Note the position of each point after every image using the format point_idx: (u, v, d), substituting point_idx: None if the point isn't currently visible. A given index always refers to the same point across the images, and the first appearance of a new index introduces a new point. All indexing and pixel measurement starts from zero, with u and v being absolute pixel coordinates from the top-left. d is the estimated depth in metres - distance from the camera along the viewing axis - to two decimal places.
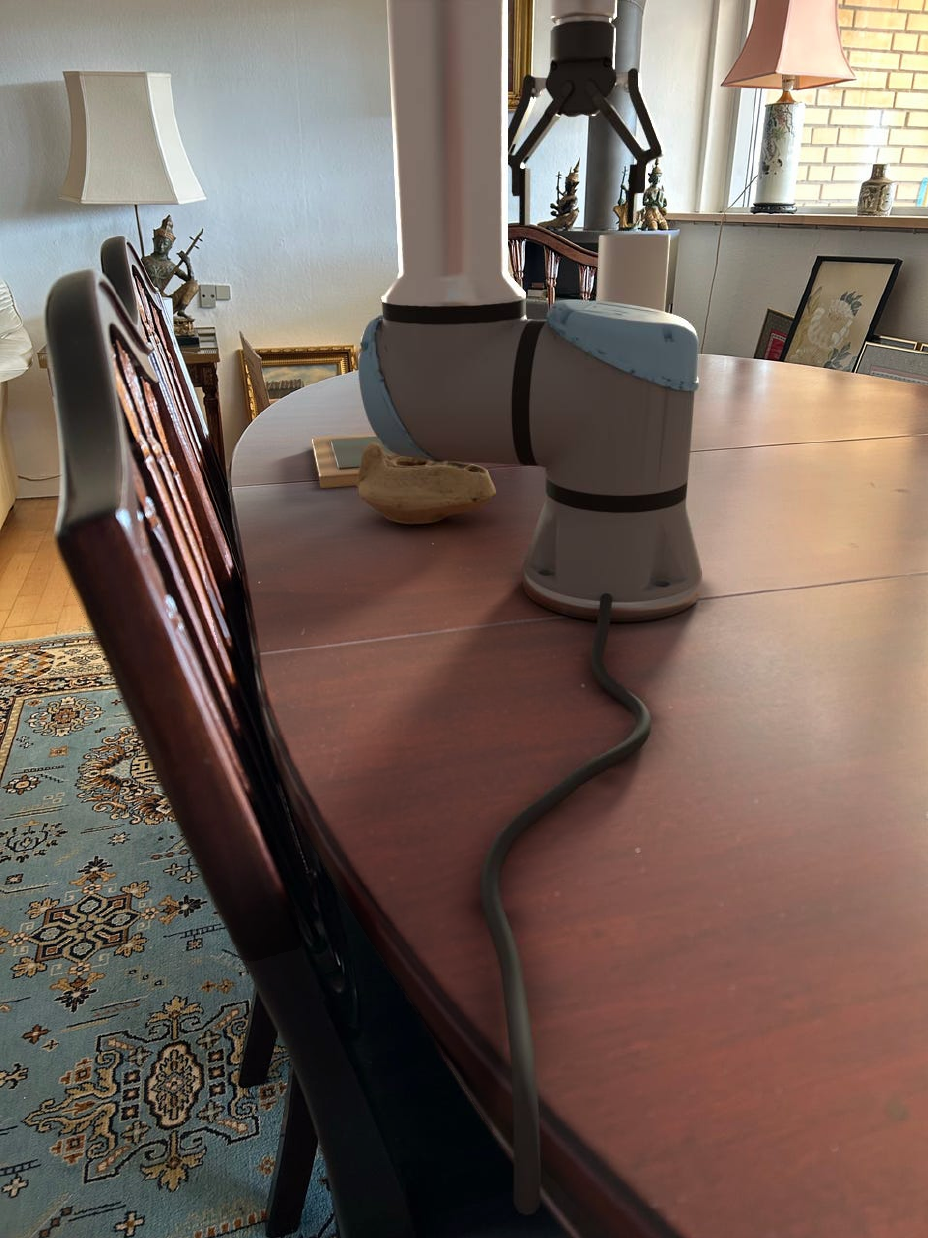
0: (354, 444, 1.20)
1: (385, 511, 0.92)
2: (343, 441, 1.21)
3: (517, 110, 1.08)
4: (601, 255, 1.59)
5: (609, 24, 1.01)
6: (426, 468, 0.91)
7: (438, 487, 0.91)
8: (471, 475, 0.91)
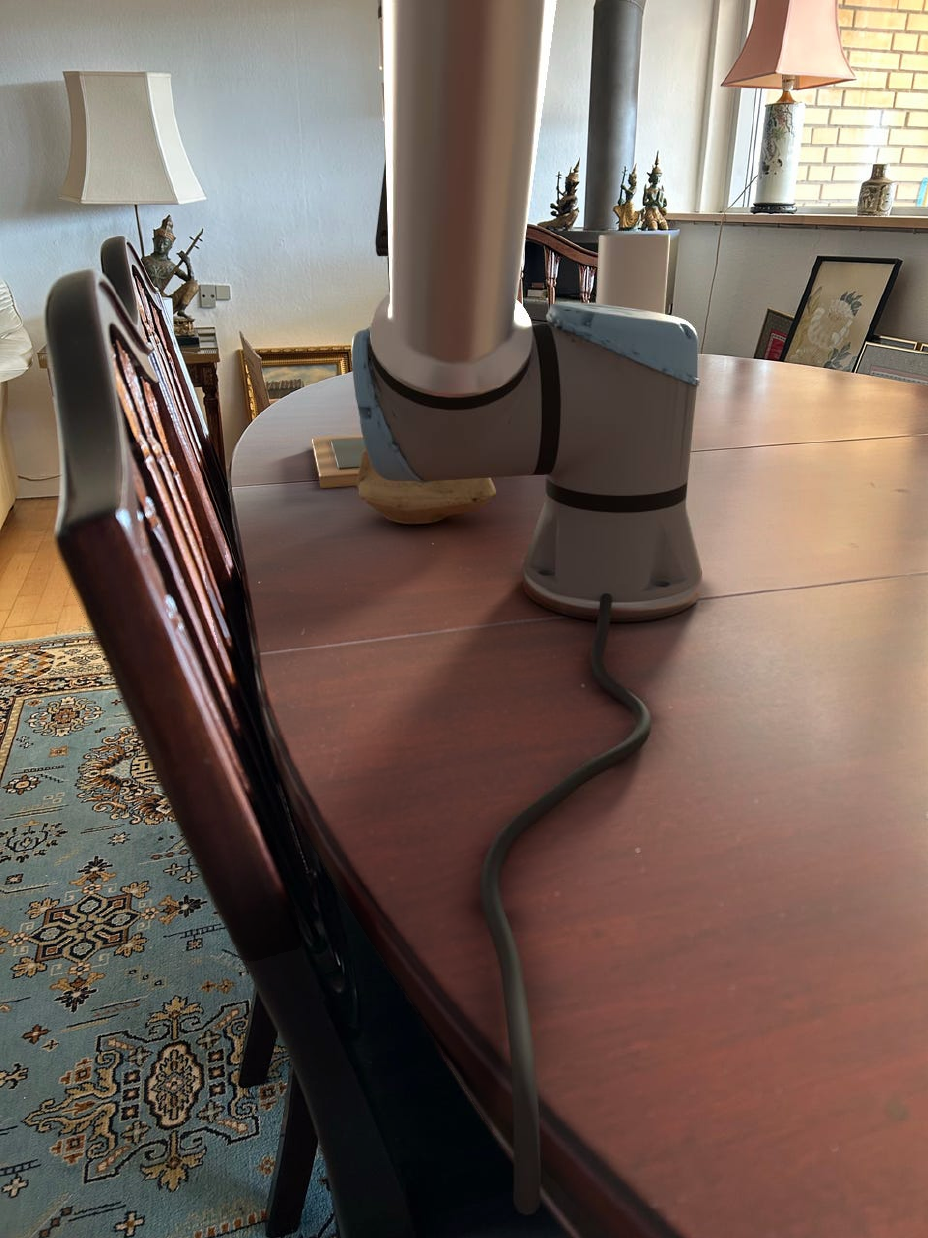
0: (354, 444, 1.20)
1: (385, 511, 0.92)
2: (343, 441, 1.21)
3: None
4: (601, 255, 1.59)
5: None
6: None
7: (438, 487, 0.91)
8: None
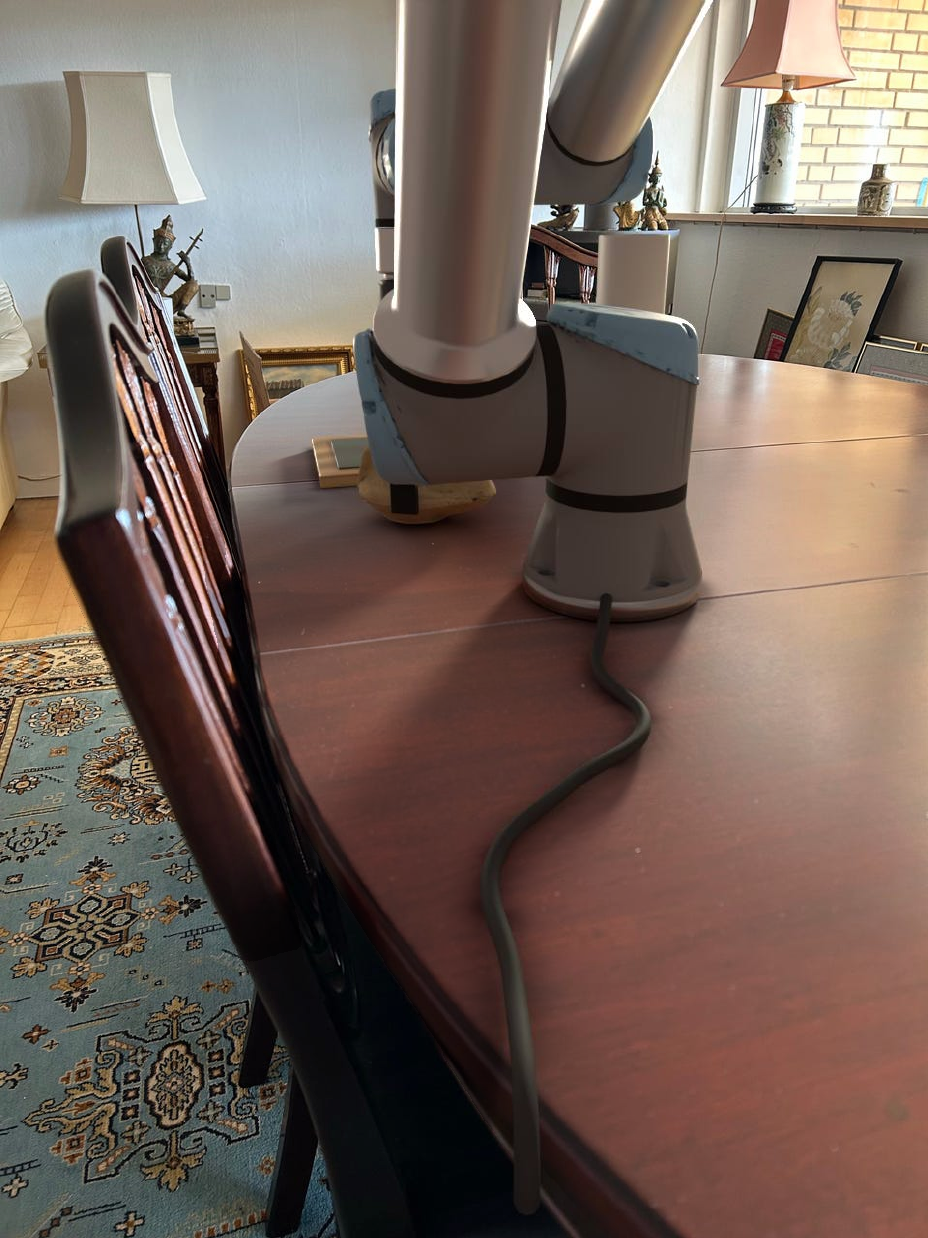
0: (354, 444, 1.20)
1: (385, 511, 0.92)
2: (343, 441, 1.21)
3: None
4: (601, 255, 1.59)
5: (391, 283, 0.83)
6: None
7: (438, 487, 0.91)
8: None
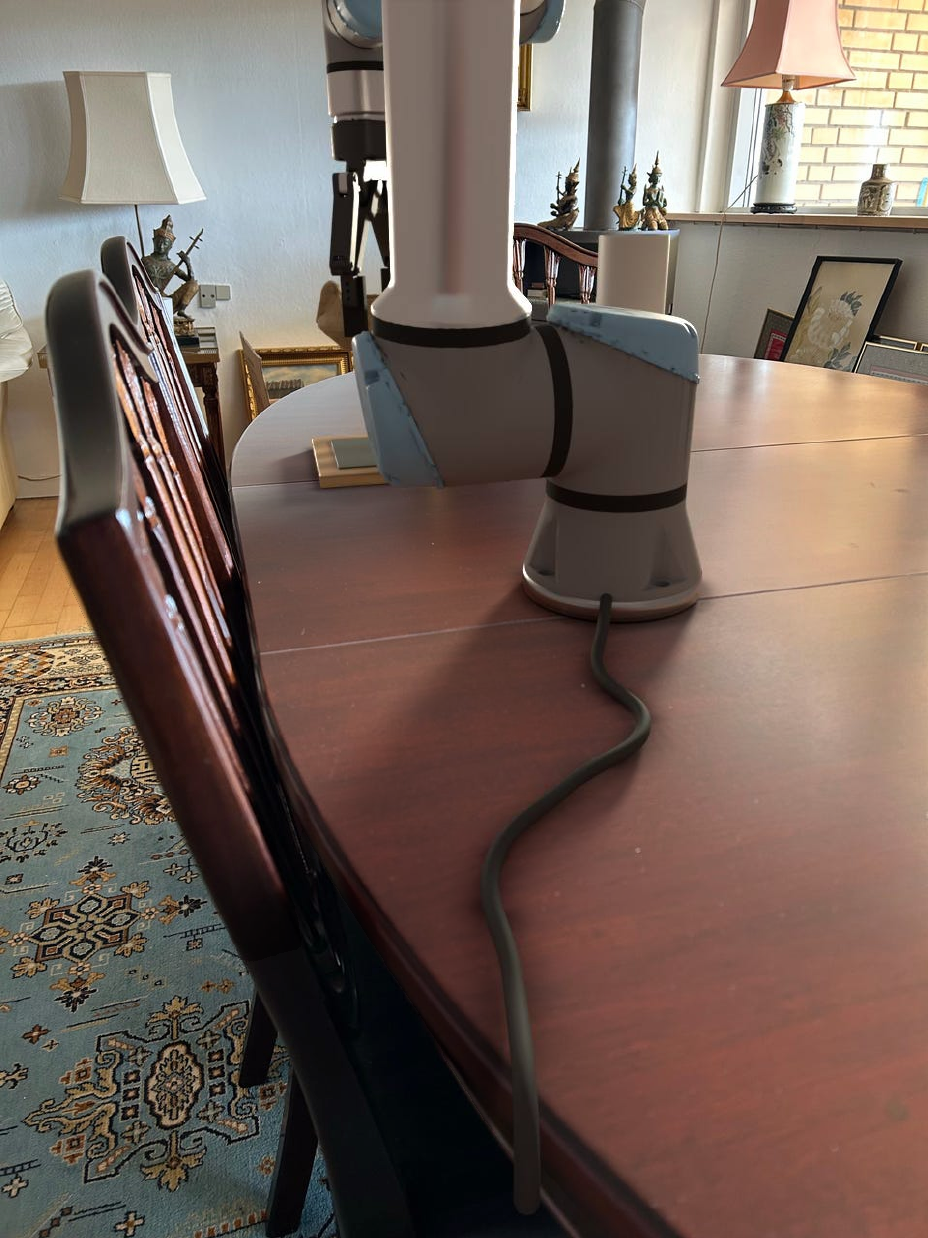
0: (354, 444, 1.20)
1: (340, 338, 1.04)
2: (343, 441, 1.21)
3: None
4: (601, 255, 1.59)
5: (340, 123, 0.95)
6: None
7: None
8: None
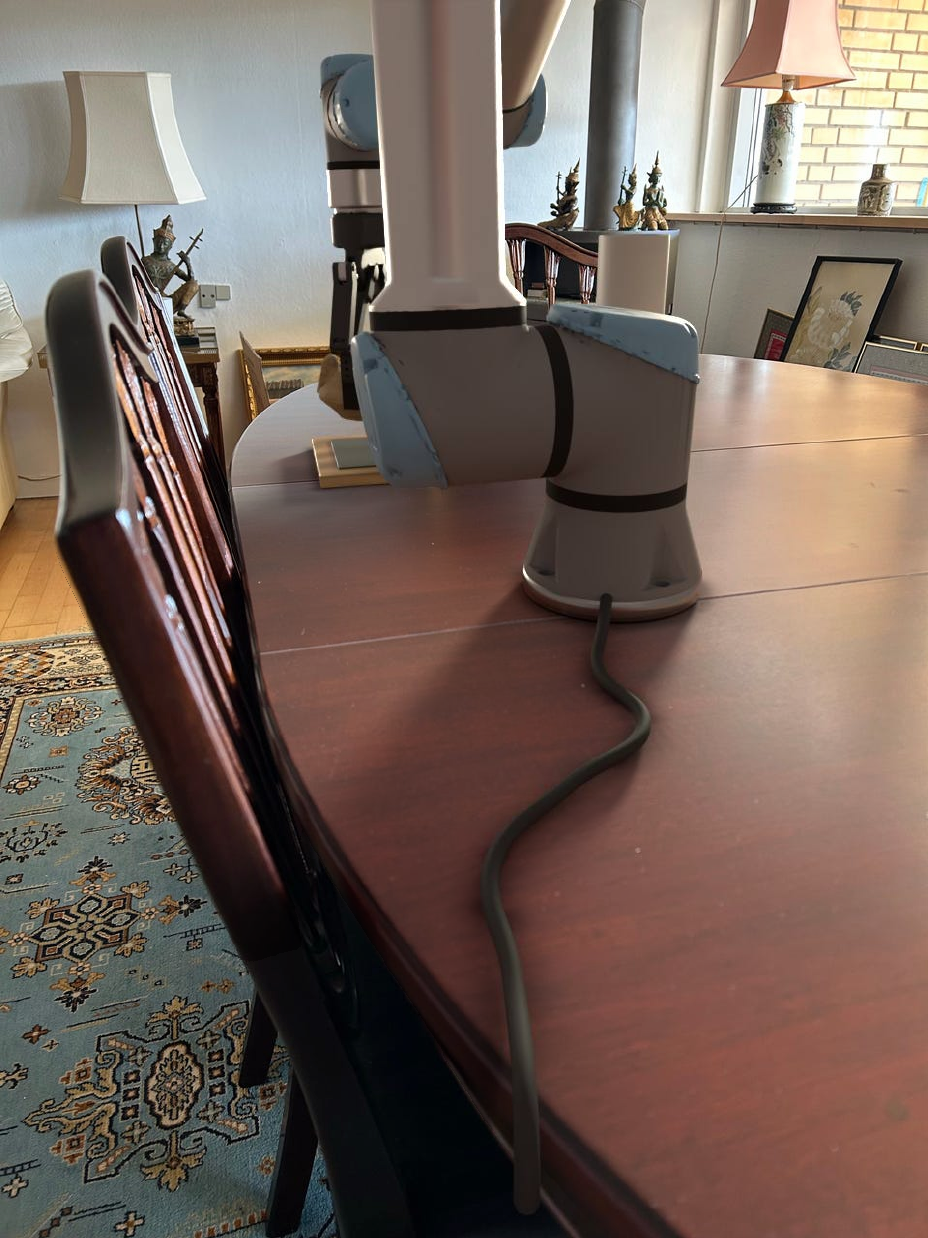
0: (354, 444, 1.20)
1: (340, 409, 1.11)
2: (343, 441, 1.21)
3: None
4: (601, 255, 1.59)
5: (340, 215, 1.02)
6: None
7: None
8: None
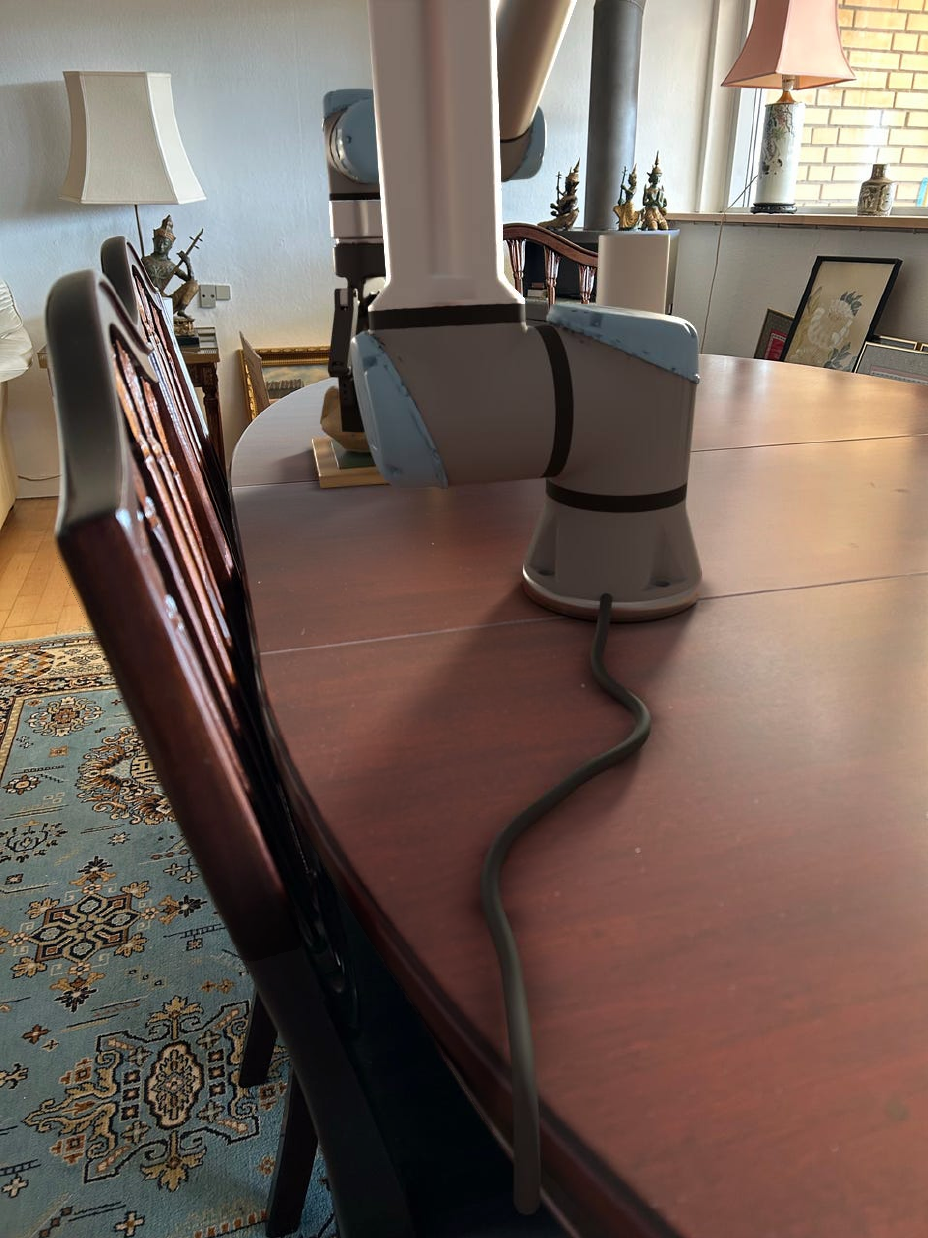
0: None
1: (342, 441, 1.13)
2: None
3: None
4: (601, 255, 1.59)
5: (342, 246, 1.04)
6: None
7: None
8: None
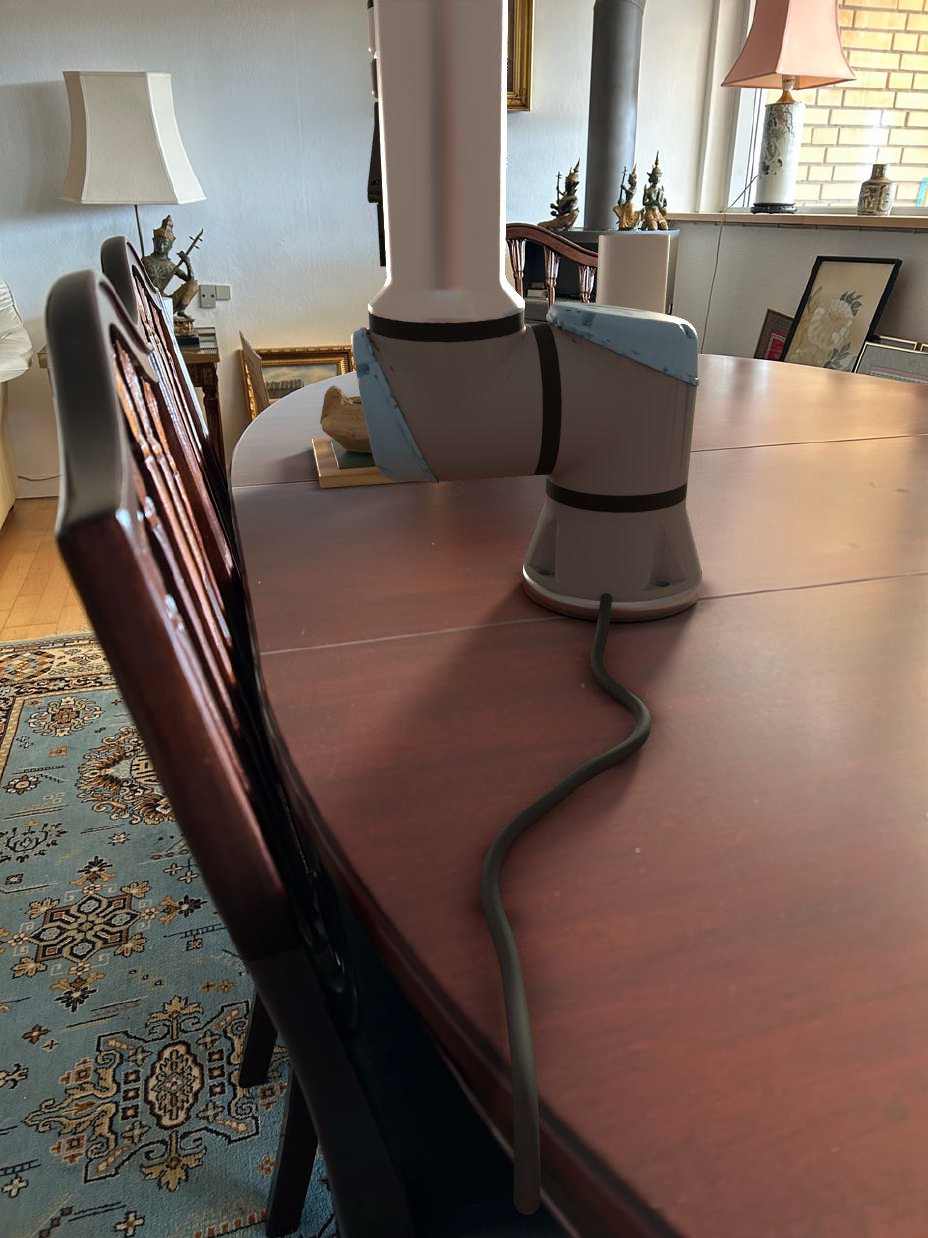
0: None
1: (342, 441, 1.13)
2: None
3: None
4: (601, 255, 1.59)
5: None
6: None
7: None
8: None
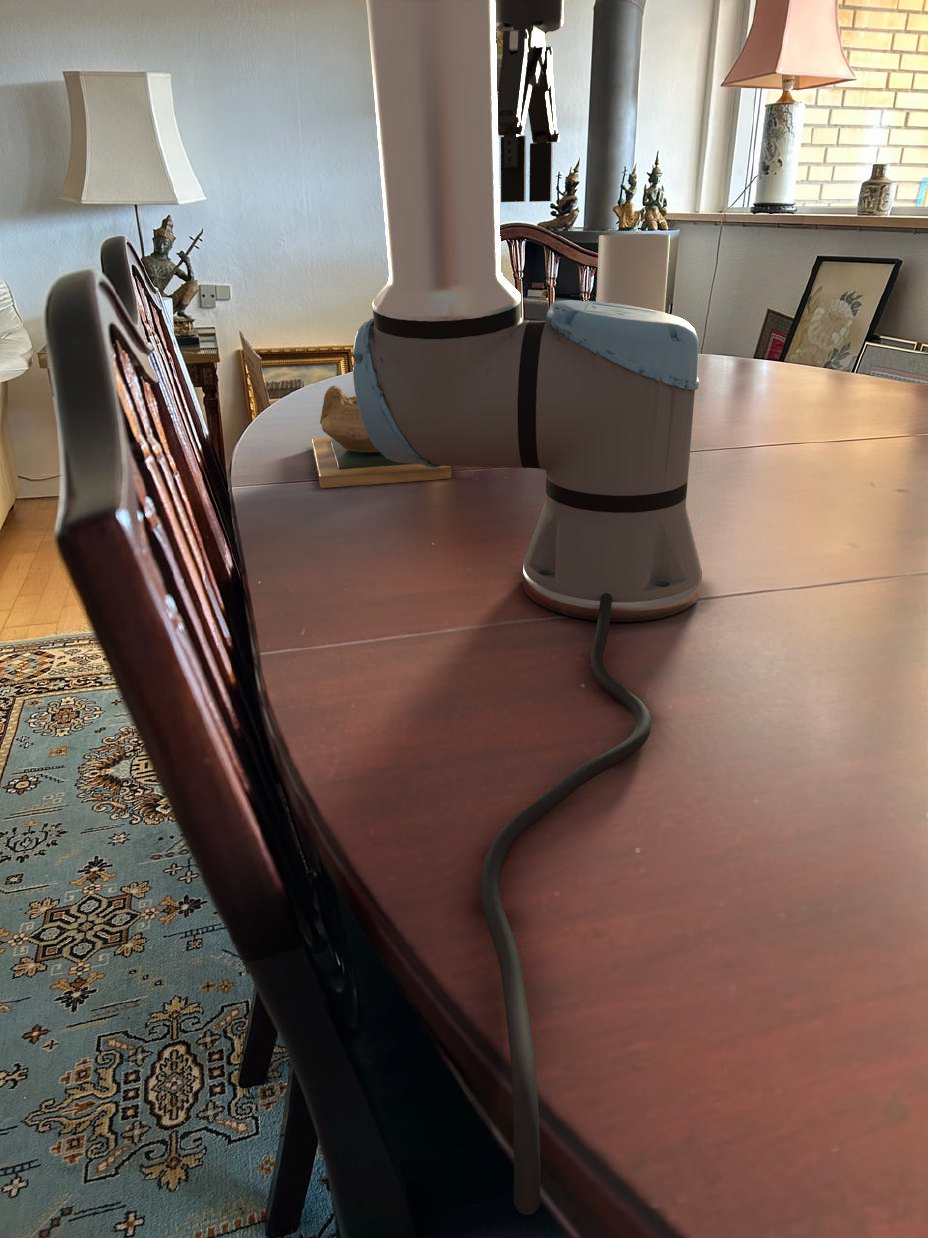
0: None
1: (342, 441, 1.13)
2: None
3: None
4: (601, 255, 1.59)
5: None
6: None
7: None
8: None
